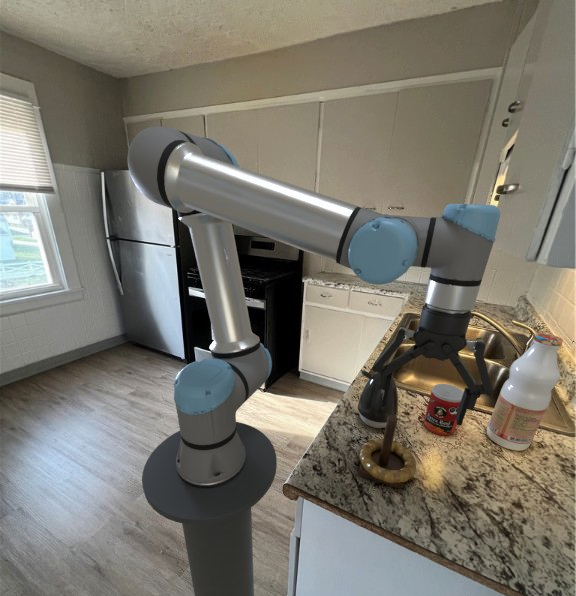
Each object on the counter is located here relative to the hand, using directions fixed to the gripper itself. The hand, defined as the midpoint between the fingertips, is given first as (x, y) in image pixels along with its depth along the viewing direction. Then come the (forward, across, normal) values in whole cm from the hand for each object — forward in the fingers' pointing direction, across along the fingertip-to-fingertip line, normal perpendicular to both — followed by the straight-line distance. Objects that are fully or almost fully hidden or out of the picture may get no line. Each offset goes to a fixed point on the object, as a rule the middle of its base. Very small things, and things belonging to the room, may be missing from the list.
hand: (419, 412), depth 61 cm
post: (+16, +5, 0) cm, 17 cm away
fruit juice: (+17, -23, -23) cm, 37 cm away
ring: (+14, +4, 0) cm, 14 cm away
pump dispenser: (+17, +9, -16) cm, 25 cm away
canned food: (+17, -7, -21) cm, 28 cm away
